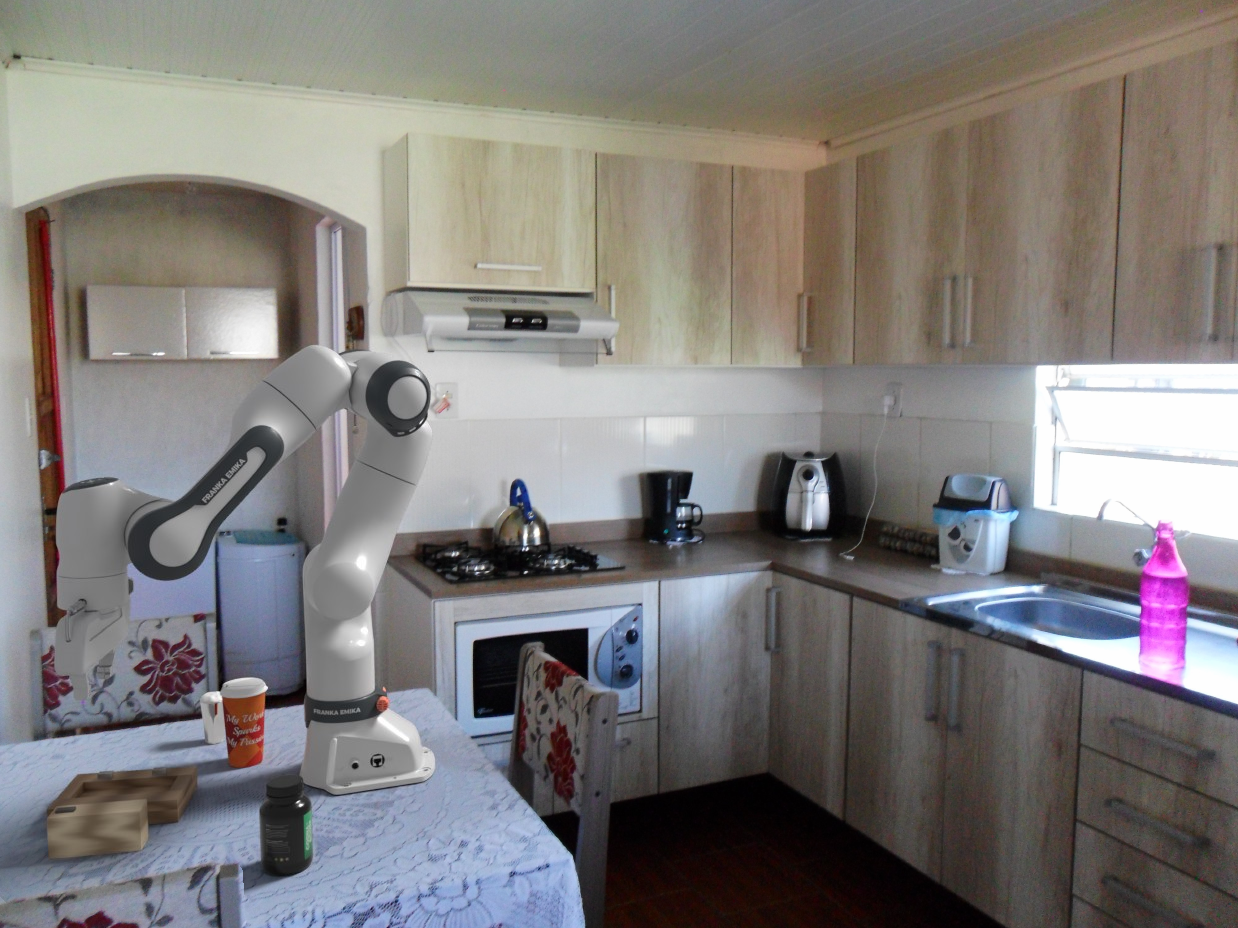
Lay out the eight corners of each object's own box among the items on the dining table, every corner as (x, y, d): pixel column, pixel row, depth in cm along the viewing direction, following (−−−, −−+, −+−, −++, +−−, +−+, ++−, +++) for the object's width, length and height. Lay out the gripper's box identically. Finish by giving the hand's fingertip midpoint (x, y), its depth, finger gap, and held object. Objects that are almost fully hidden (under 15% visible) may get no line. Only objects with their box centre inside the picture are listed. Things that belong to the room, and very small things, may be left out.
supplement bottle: (322, 863, 136) (320, 780, 135) (276, 882, 131) (274, 795, 130) (297, 847, 141) (294, 766, 140) (251, 865, 136) (249, 781, 135)
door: (148, 838, 144) (146, 796, 143) (141, 851, 140) (139, 807, 139) (58, 846, 141) (56, 803, 141) (48, 859, 137) (46, 815, 137)
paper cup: (224, 773, 167) (221, 692, 165) (220, 757, 173) (217, 680, 172) (273, 764, 170) (270, 686, 169) (266, 749, 177) (264, 673, 176)
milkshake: (226, 745, 179) (224, 692, 178) (197, 745, 179) (195, 691, 178) (236, 736, 183) (234, 684, 183) (208, 736, 184) (206, 683, 183)
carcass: (197, 786, 161) (196, 759, 161) (178, 821, 149) (176, 793, 148) (78, 795, 158) (77, 767, 158) (48, 832, 145) (46, 802, 145)
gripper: (91, 609, 130) (93, 711, 131) (137, 577, 150) (138, 666, 151) (39, 609, 129) (41, 712, 130) (92, 578, 149) (94, 667, 150)
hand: (94, 687), depth 140 cm, fingers open, 8 cm apart
